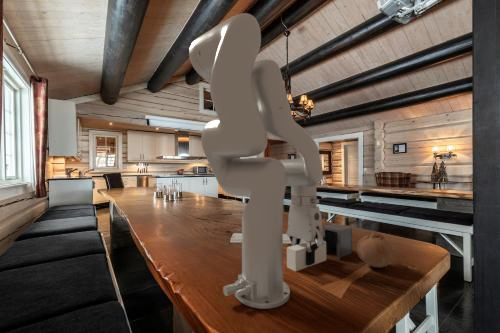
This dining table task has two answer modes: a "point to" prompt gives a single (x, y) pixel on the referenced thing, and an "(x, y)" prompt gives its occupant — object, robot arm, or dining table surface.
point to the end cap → (338, 239)
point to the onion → (375, 250)
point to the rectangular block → (303, 256)
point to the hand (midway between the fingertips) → (304, 260)
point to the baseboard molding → (238, 239)
